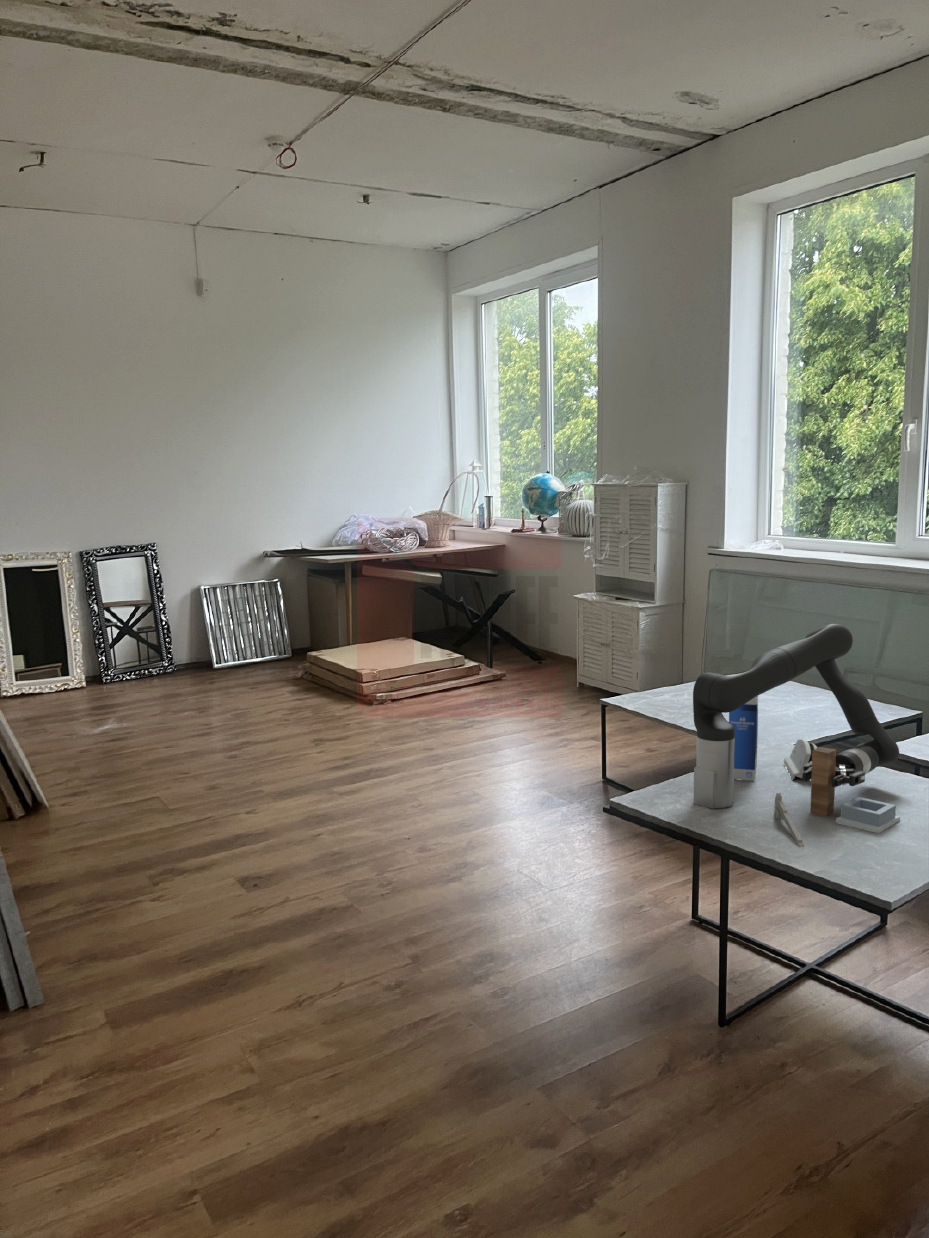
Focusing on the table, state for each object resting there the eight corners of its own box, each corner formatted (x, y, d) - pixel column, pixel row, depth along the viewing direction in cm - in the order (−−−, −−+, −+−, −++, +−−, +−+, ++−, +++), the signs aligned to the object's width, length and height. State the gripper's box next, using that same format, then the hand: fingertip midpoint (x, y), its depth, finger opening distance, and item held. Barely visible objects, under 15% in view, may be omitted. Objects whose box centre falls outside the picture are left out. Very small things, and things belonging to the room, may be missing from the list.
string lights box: (729, 766, 262) (731, 678, 258) (757, 768, 259) (759, 679, 256) (727, 779, 249) (728, 687, 246) (756, 782, 247) (758, 689, 244)
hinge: (782, 763, 264) (795, 732, 262) (798, 769, 263) (811, 737, 261) (791, 780, 247) (805, 747, 246) (808, 786, 247) (822, 753, 245)
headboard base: (878, 833, 207) (879, 816, 207) (835, 822, 215) (836, 806, 214) (899, 820, 216) (900, 804, 215) (858, 810, 223) (858, 794, 222)
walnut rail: (826, 817, 218) (828, 753, 216) (810, 813, 221) (812, 749, 219) (833, 813, 221) (836, 749, 219) (818, 809, 224) (820, 746, 222)
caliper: (773, 816, 221) (774, 791, 220) (778, 816, 221) (778, 791, 220) (799, 847, 201) (800, 820, 200) (804, 847, 201) (805, 820, 200)
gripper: (822, 745, 234) (791, 759, 223) (878, 756, 224) (848, 770, 213) (821, 774, 235) (790, 788, 224) (877, 785, 225) (847, 801, 214)
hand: (818, 779), depth 219 cm, fingers open, 6 cm apart
